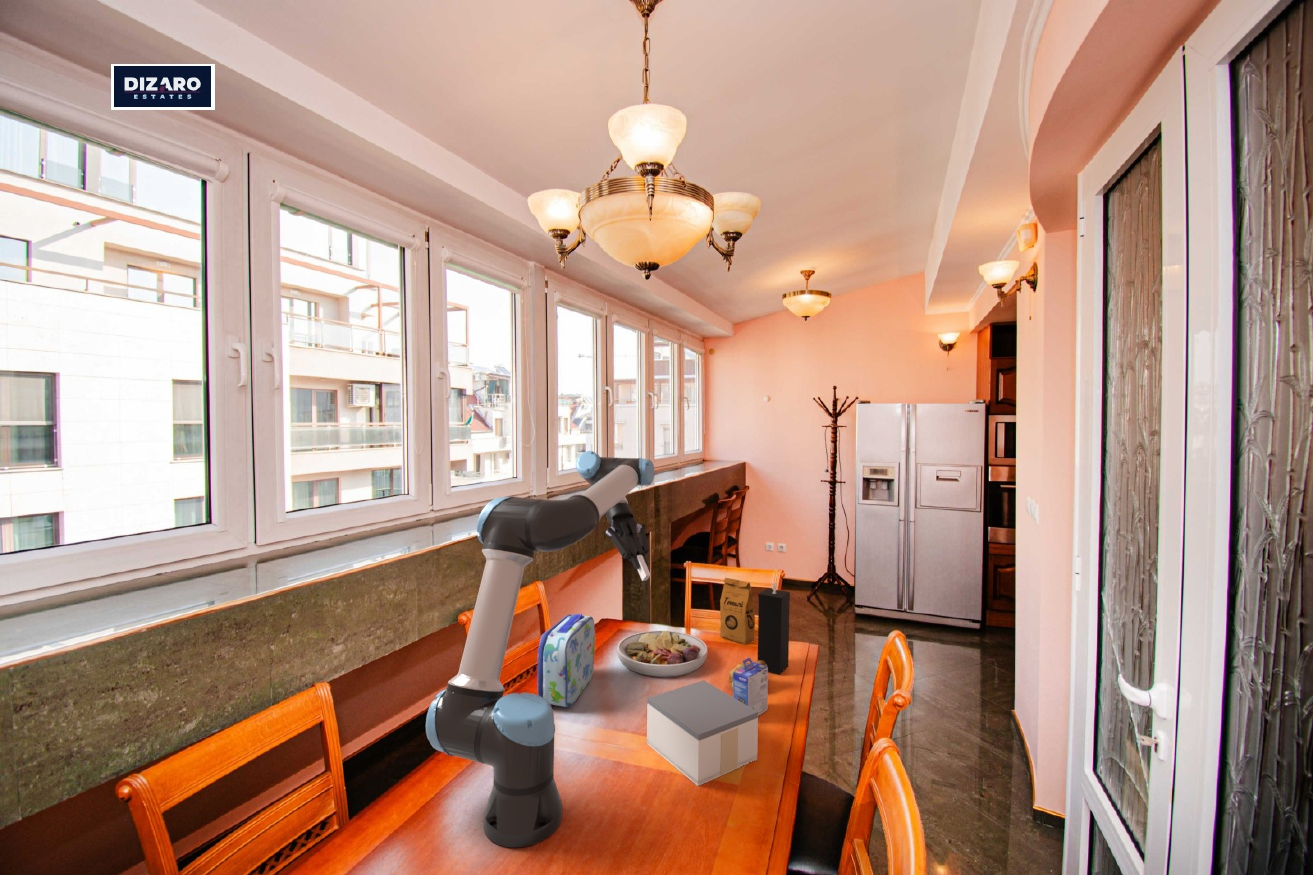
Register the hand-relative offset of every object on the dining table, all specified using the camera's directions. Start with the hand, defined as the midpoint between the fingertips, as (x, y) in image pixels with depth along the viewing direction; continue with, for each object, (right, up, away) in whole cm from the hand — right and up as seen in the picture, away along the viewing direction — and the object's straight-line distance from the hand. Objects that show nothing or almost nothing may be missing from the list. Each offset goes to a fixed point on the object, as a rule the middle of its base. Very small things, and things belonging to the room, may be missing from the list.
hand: (646, 577), depth 157 cm
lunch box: (-23, -36, +12) cm, 45 cm away
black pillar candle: (+41, -37, +29) cm, 62 cm away
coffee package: (+33, -36, +54) cm, 73 cm away
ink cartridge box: (+28, -37, 0) cm, 47 cm away
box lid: (+14, -27, -19) cm, 36 cm away
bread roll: (+29, -37, +15) cm, 50 cm away
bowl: (+5, -37, +35) cm, 50 cm away
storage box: (+13, -37, -18) cm, 44 cm away
